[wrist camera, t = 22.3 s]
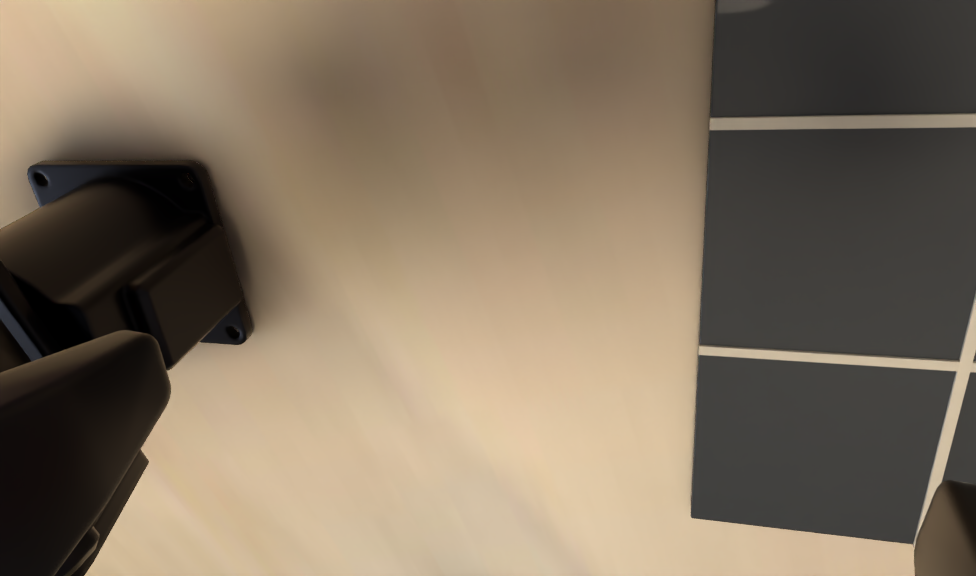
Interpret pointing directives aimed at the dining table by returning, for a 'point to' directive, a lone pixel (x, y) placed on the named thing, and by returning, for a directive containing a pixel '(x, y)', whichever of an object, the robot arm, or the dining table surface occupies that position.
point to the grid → (838, 265)
